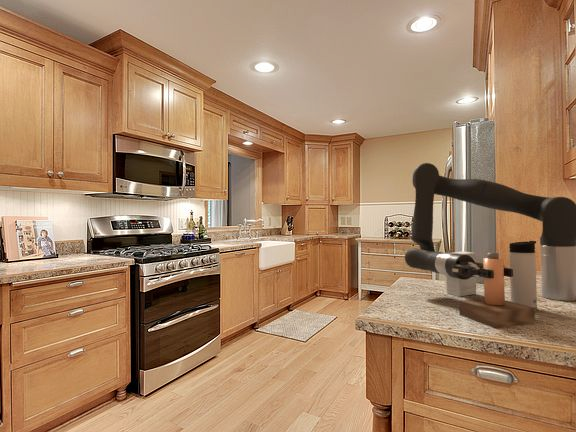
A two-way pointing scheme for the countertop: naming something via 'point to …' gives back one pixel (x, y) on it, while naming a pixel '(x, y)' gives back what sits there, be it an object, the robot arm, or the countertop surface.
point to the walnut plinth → (497, 313)
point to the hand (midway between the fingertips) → (502, 273)
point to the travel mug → (523, 273)
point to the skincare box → (461, 282)
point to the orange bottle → (494, 280)
